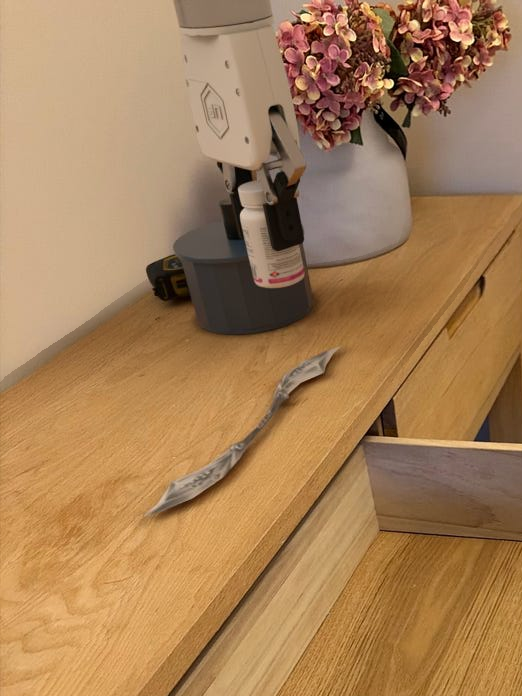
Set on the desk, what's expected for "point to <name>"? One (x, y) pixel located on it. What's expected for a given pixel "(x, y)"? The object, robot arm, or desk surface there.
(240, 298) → the pot
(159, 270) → the tape measure
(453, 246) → the desk surface
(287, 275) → the pill bottle
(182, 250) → the pot lid
